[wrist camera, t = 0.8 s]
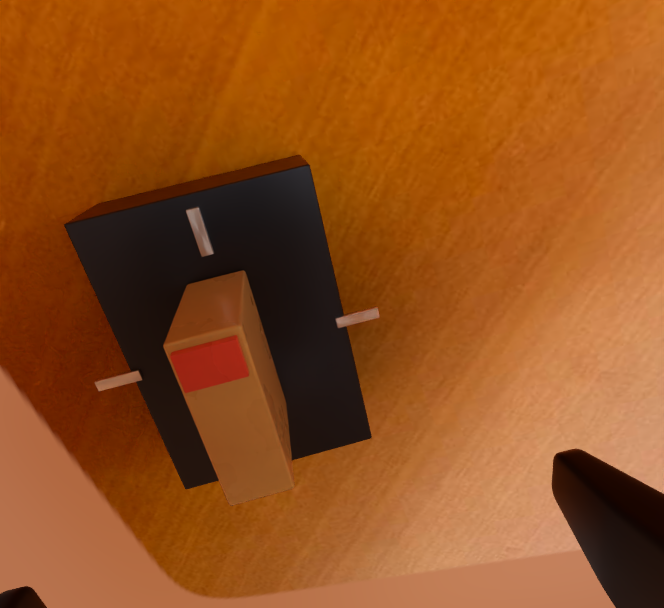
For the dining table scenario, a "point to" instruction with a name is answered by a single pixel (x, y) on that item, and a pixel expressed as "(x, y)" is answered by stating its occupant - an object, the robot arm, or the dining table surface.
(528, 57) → the dining table surface
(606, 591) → the robot arm
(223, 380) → the tan block
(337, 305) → the knob panel
